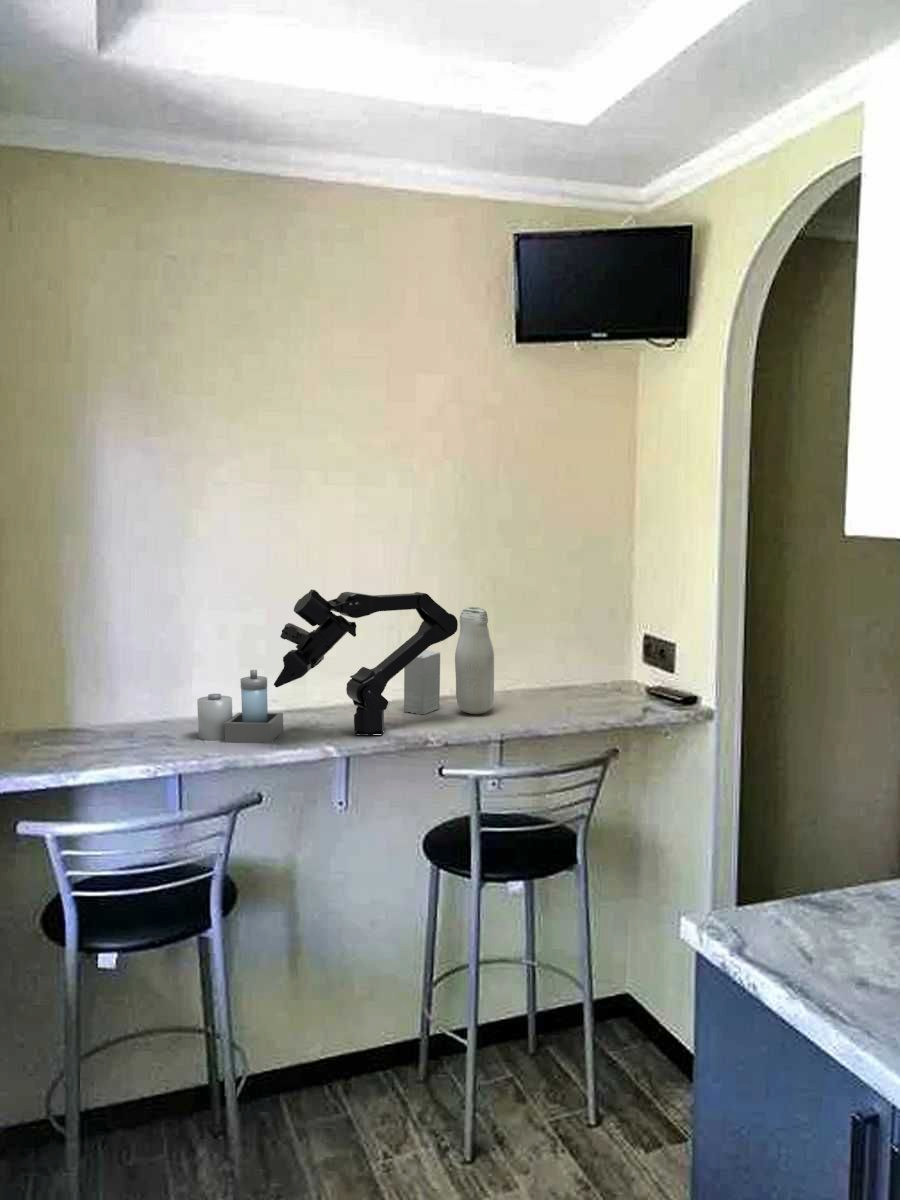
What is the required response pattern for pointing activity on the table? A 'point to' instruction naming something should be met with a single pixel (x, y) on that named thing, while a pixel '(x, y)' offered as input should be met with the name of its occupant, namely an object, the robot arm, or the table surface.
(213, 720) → the jar and tray set
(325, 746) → the table surface
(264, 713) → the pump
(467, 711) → the glass bottle
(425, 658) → the skincare box
